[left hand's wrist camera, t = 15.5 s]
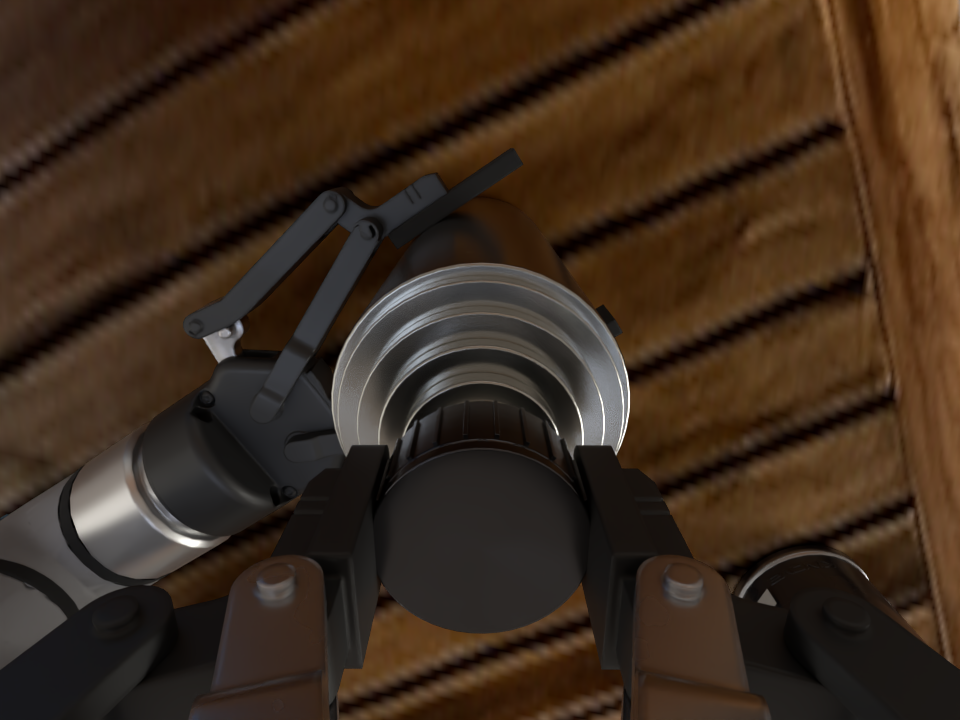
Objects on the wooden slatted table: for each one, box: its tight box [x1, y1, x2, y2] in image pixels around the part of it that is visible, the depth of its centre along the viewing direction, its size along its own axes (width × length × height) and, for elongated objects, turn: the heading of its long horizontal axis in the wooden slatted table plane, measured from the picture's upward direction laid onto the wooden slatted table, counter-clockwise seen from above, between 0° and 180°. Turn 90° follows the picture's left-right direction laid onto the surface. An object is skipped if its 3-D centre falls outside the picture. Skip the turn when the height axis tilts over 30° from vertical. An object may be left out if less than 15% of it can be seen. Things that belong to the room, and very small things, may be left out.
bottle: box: [331, 197, 630, 459], centre depth 22 cm, size 8×8×24 cm
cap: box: [373, 400, 591, 633], centre depth 11 cm, size 4×4×2 cm
